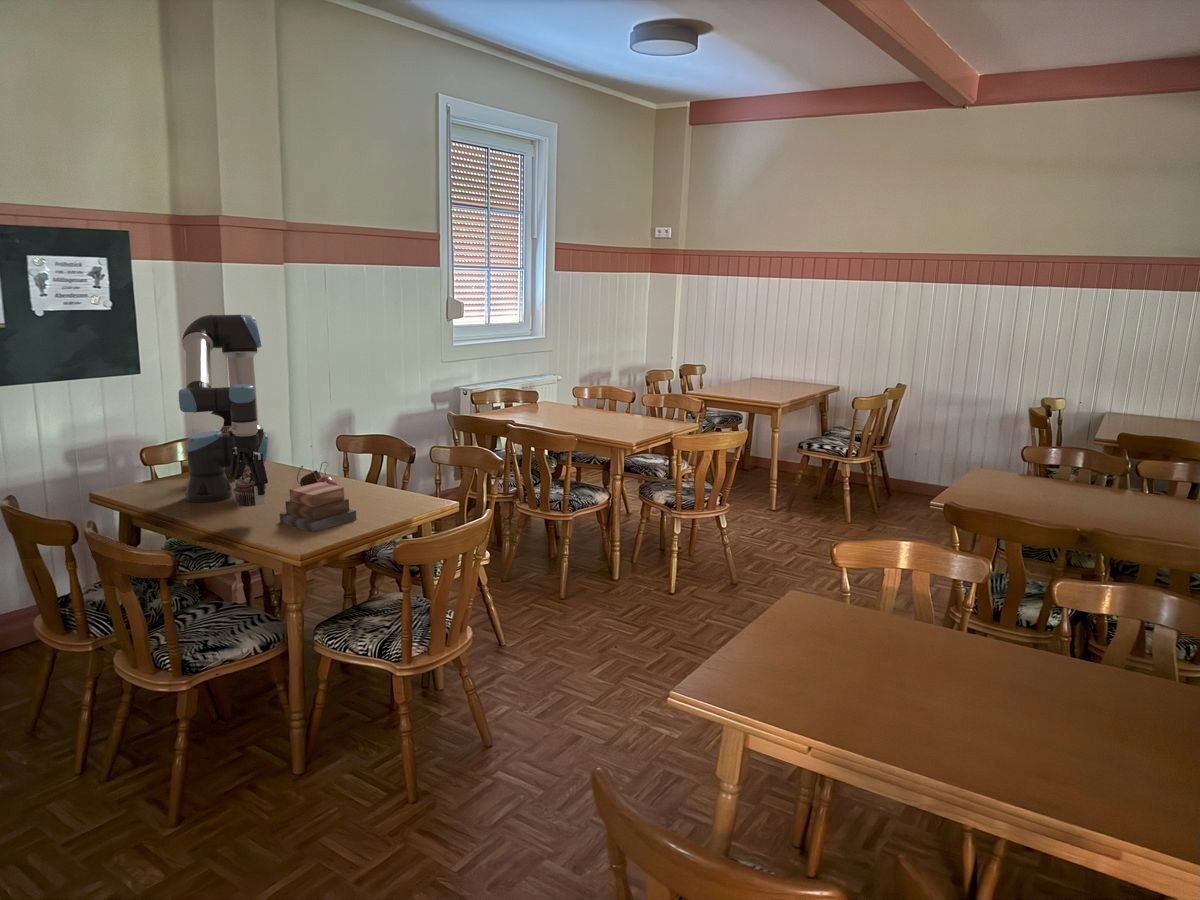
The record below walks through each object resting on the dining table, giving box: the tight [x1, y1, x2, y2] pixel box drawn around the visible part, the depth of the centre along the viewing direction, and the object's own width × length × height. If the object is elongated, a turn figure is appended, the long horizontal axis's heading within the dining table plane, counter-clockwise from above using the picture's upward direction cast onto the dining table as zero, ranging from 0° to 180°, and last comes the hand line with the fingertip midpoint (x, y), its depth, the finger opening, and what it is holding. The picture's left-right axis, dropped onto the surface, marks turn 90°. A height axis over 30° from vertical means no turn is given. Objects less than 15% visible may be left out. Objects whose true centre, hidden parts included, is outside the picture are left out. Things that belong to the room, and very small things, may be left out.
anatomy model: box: [296, 461, 338, 487], centre depth 297 cm, size 11×15×17 cm
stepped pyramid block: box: [279, 482, 357, 533], centre depth 270 cm, size 17×17×11 cm
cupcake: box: [232, 472, 267, 507], centre depth 265 cm, size 10×10×10 cm
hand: (250, 501), depth 266 cm, fingers closed on cupcake, 10 cm apart
